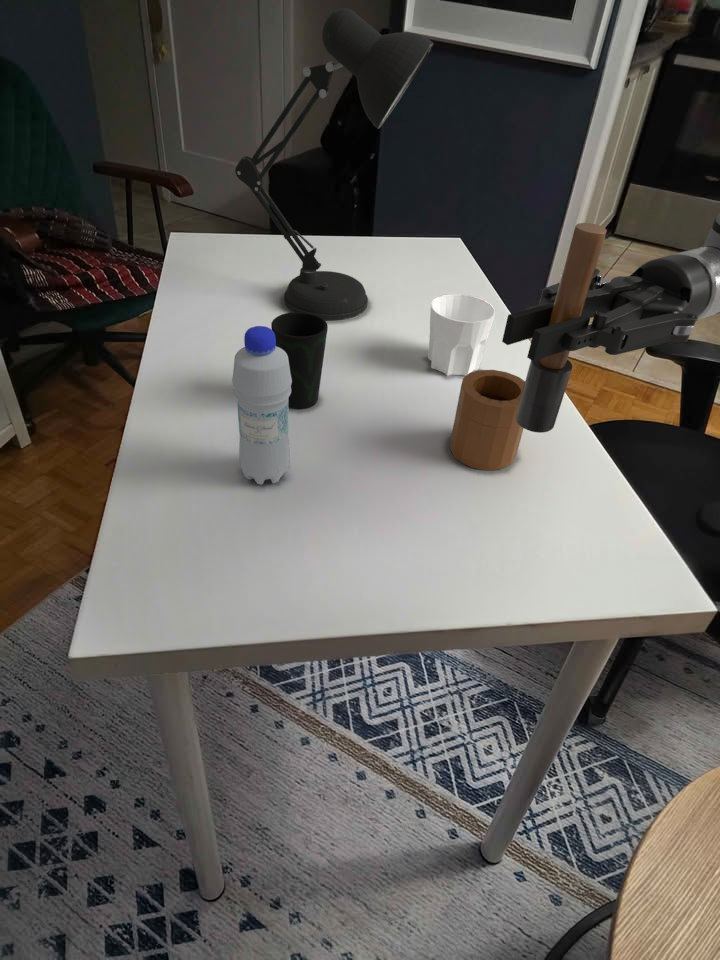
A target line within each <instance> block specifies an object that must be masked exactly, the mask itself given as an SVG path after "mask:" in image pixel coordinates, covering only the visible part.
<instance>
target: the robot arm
mask: <svg viewBox="0 0 720 960" xmlns="http://www.w3.org/2000/svg"><path fill="white" fill-rule="evenodd" d="M600 271H601V270H600V269H598V268H595V271H594V274H593V277H592V281H591V284H590V287H589V290H588V294H587V297H586V300H585V303H584V307H583V310H582V313H581V316H580V317H578V318H573V319H570V320H566V321H563V322H560V323H556V324H553V325H550V326H548V324H549V320H550V317H551V313H552V309H553V306H554V302H555V298H556V295H557V291H558V287H559V284H560V282H557V283H555V284H552V285H549V286H546V287H544V288H542V291H541V294H540V299H539V303H538V304H537V305H534V306H530V307H529V306H528V307H527V308H526V309H524V310H520V311H516V312H514V313H509V314H508V315H507V318H506V322H505V326H504V331H503V335H502V339H501V342H502V343H503V344H505V345H507V346H509V345H513V344H516V343H519V342H522V341H526V340H529V339H531V342H530V345H529V349H528V353H527V357H526V358H527V359H529V360H530V361H531V360H532V361H535V360H538V359H541V358H544V357H547V356H550V355H554V354H557V353H560V352H563V351H566V350H568V351H570V352H576V351H578V350H581V349H584V348H587V347H588V348H592V349H596V348H599V347H604V348H605V349H604V352H605V353H606V354H608V355H611V356H617V355H621V354H626V353H629V352H633V351H634V352H635V351H638V350H642V349H645V348H649V347H654V346H658V345H662V344H665V343H686V342H688V341H689V338H690V336H691V334H692V331H693V330H694V327H695V324H696V322H697V321H700V320H703V319H706V318H708V317H712V316H715V315H718V314H720V210H719V211H718V214H717V216H716V217H715V219H714V220H713V223H712V226H711V228H710V230H709V233H708V235H707V237H706V240H705V242H704V245H703V246H700V247H697V248H692V249H688V250H684V251H679V252H675V253H673V254H669V255H667V256H661V257H658V258H653V259H650V260H648V261H646V262H645V263H643V264H642V265H640V266H639V267H638V268H637V269H635V270H634V271H633V272H632V273H631V274H630V275H627V276H620V275H619V276H615V277H613V278H612V279H607V278H603V275H602V274H600ZM591 319H592V321H591ZM590 321H591V323H590Z"/></svg>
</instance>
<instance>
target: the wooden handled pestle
mask: <svg viewBox="0 0 720 960" xmlns="http://www.w3.org/2000/svg"><path fill="white" fill-rule="evenodd" d="M606 234H607V228H606V227H604V226H602V225H600V224H597V223H590V222H580V223H577V224H576V225H575V226H574V230H573V234H572V237H571V240H570V245H569V247H568V252H567V255H566V259H565V262H564V265H563V270H562V272H561V273H562V274H561V277H560V281H559V283H560V284H559V287H558V291H557V295H556V298H555V302H554V306H553V309H552V313H551V317H550V320H549V324H548V326H550V325H553V324H556V323H560V322H563V321H566V320H570V319H573V318H578V317H580V316H581V313H582V310H583V307H584V303H585V300H586V297H587V294H588V290H589V287H590V284H591V281H592V277H593V274H594V271H595V268H596V267H597V264H598V261H599V257H600V254H601V251H602V248H603V245H604V241H605V239H606ZM596 269H597V268H596ZM570 352H571V351H568V350H566V351H563V352H560V353H557V354H554V355H550V356H547V357H544V358H541V359H538V360H535V361H532V360H530V363H529V365H528V370H527V372H526V378H525V380H524V381H525V384H524V388H523V392H522V396H521V399H520V403H519V407H518V411H517V414H516V421H517V423H518V424H519V425H520V426H521V427H522V428H524V429H523V430H526V431H529V432H531V433H532V432H533V433H538V434H539V433H541V434H542V433H547V432H551V431H552V430H553V429H554V427H555V424H556V421H557V418H558V415H559V412H560V408H561V405H562V402H563V399H564V396H565V393H566V390H567V386H568V384H569V380H570V376H571V374H572V370H573V363H572V362H571V361H570V360H569V356H570Z"/></svg>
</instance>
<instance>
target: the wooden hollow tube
mask: <svg viewBox="0 0 720 960" xmlns="http://www.w3.org/2000/svg"><path fill="white" fill-rule="evenodd" d="M525 381H526V380H524V379H522V378H521V377H519V376H518V375H515V374H513V373H510V372H507V371H502V370H497V369H478V370H473V371H472V372H470V373H469V374H468V375H466V376H464V377H463V378H462V380H461V383H460V390H459V395H458V400H457V405H456V409H455V416H454V420H453V426H452V431H451V437H450V442H449V449H450V452H451V454H452V455H453V457H454V458H455V459H456V460H458V461H459V462H460V463H462V464H464V465H465V466H468V467H470V468H472V469H476V470H480V471H481V470H482V471H498V470H502V469H505V468H508V467H509V466H510V465H511V464H513V462H514V461H515V459H516V456H517V453H518V450H519V447H520V443H521V441H522V440H521V439H522V436H523V432H524V430H525V429H524V428H522V427H521V426H520V425H519V424H518V423H517V421H516V414H517V411H518V407H519V403H520V399H521V396H522V392H523V388H524V384H525Z"/></svg>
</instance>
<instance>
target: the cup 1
mask: <svg viewBox="0 0 720 960" xmlns="http://www.w3.org/2000/svg"><path fill="white" fill-rule="evenodd" d="M270 327H271V328H270V329H271V330H272V331H273V332H274V334H275V338H276V347H279V348H281V349H282V350H284V351H285V352H286V354H287V356H288V360H289V367H290V374H291V378H292V383H291V394H290V396H289V397H288V408H290V409H292V410H293V409H294V410H306V409H309V408H312V407H314V406H315V405H317V403H318V401H319V394H320V388H321V380H322V373H323V367H324V366H323V365H324V359H325V358H324V357H325V350H326V342H327V337H328V328H329V326H328V323H327V320H324V319H323V318H321V317H319V316H317V315H314V314H311V313H306V312H293V311H290V312H286V313H282V314H279V315H278V316H275V318H274V319H272V321H271V326H270Z"/></svg>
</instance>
